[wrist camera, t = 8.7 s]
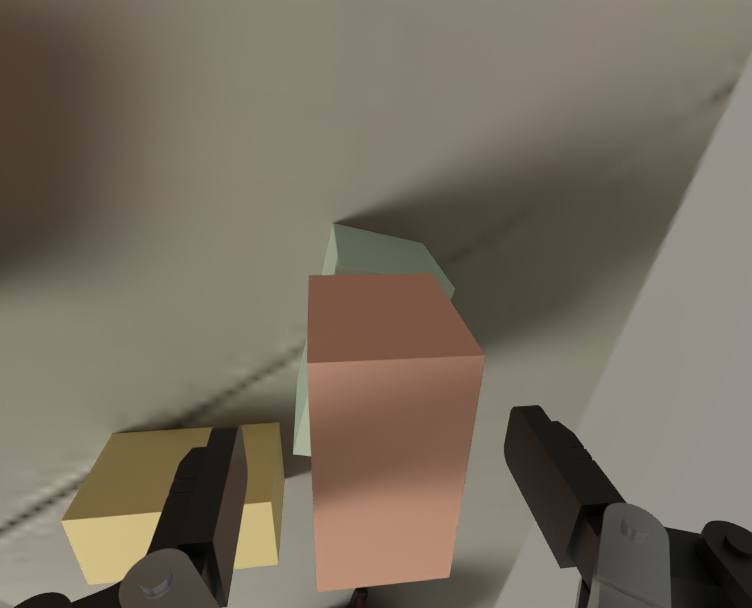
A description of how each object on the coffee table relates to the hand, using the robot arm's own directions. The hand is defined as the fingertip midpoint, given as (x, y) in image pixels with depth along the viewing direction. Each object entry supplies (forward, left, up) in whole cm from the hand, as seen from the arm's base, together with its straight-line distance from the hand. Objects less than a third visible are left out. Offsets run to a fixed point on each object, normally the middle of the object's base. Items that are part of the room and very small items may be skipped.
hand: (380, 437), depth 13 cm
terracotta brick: (0, 0, -3) cm, 3 cm away
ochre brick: (+8, -8, -8) cm, 14 cm away
